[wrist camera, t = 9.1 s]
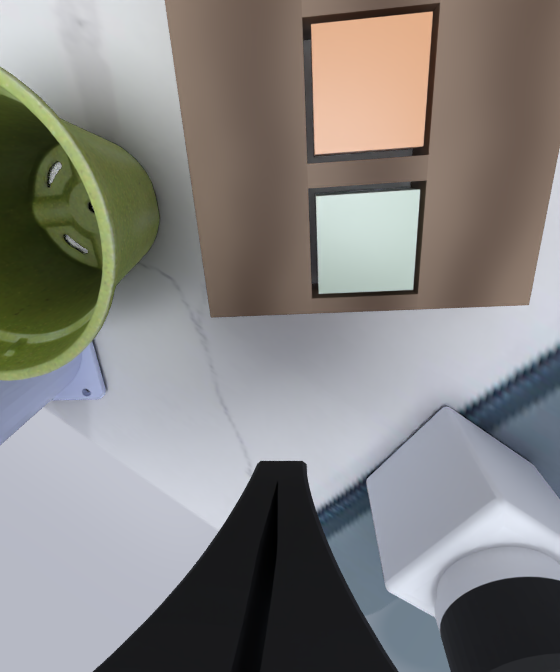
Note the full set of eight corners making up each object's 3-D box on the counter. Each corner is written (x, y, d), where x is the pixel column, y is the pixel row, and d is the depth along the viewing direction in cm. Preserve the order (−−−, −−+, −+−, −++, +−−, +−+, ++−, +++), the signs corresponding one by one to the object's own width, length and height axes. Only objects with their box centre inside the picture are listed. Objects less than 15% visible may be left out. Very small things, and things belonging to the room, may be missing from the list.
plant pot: (233, 186, 18) (174, 199, 10) (139, 333, 21) (37, 430, 13) (50, 43, 16) (-200, -81, 8) (-22, 227, 20) (-249, 266, 12)
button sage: (317, 279, 19) (318, 293, 17) (315, 193, 17) (316, 196, 15) (400, 275, 19) (412, 289, 16) (405, 187, 17) (420, 189, 15)
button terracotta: (313, 156, 17) (314, 154, 15) (310, 45, 15) (310, 24, 13) (408, 149, 16) (423, 146, 14) (414, 34, 15) (432, 11, 13)
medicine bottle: (362, 478, 24) (408, 735, 13) (444, 401, 22) (585, 640, 11) (447, 530, 25) (553, 804, 14) (534, 463, 23) (743, 734, 12)
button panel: (221, 300, 20) (210, 317, 18) (161, -162, 14) (131, -230, 11) (502, 288, 19) (528, 305, 17) (586, -227, 12) (650, -317, 10)
